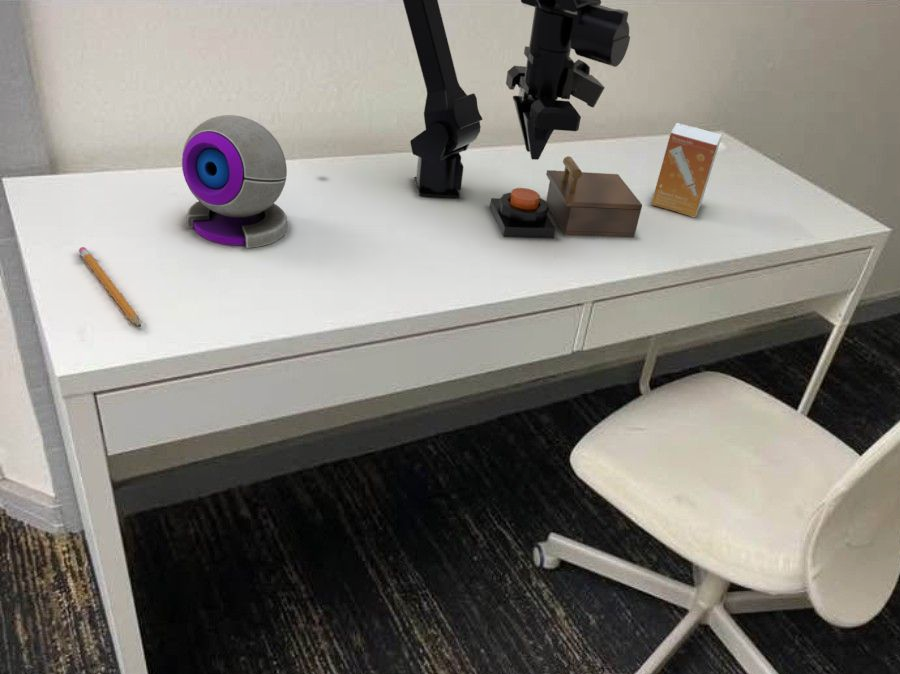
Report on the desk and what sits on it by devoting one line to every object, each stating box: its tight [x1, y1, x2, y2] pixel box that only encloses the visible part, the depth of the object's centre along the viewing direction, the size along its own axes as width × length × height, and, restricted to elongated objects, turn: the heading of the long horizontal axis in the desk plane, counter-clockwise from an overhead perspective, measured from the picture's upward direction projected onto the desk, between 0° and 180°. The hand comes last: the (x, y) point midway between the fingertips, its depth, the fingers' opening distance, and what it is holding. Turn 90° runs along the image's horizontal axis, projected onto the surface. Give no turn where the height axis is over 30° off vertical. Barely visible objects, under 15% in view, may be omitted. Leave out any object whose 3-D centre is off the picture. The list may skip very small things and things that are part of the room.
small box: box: [651, 122, 723, 218], centre depth 145 cm, size 8×6×13 cm
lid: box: [545, 155, 643, 211], centre depth 133 cm, size 12×12×5 cm
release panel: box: [489, 192, 556, 239], centre depth 132 cm, size 10×8×4 cm
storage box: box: [545, 181, 642, 239], centre depth 136 cm, size 12×12×5 cm
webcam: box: [181, 114, 288, 249], centre depth 113 cm, size 13×13×15 cm
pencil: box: [78, 246, 142, 328], centre depth 99 cm, size 1×1×19 cm
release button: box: [510, 187, 541, 210], centre depth 130 cm, size 4×4×2 cm
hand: (532, 155), depth 126 cm, fingers open, 3 cm apart
